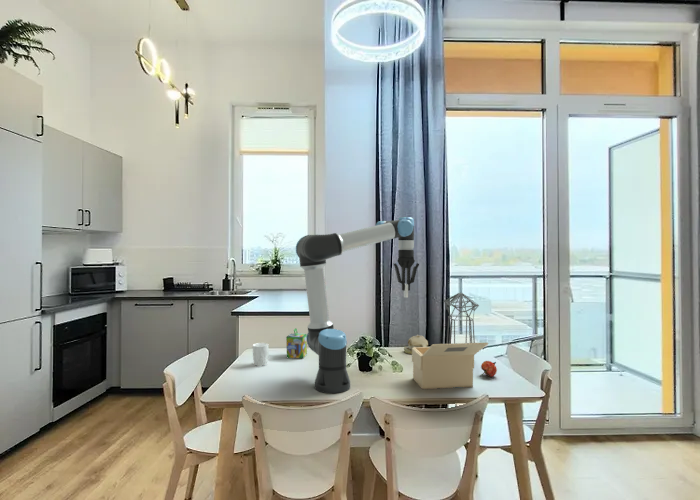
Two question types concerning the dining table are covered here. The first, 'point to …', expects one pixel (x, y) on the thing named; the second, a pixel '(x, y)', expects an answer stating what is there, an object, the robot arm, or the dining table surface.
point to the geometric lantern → (459, 313)
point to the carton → (442, 370)
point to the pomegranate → (489, 368)
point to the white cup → (260, 353)
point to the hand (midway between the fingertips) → (405, 297)
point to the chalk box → (296, 345)
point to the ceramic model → (415, 343)
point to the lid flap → (454, 349)
